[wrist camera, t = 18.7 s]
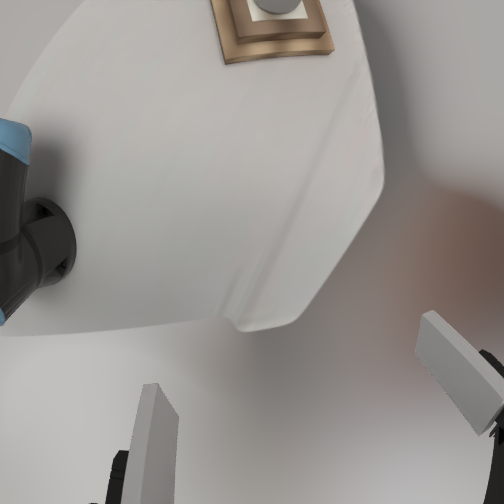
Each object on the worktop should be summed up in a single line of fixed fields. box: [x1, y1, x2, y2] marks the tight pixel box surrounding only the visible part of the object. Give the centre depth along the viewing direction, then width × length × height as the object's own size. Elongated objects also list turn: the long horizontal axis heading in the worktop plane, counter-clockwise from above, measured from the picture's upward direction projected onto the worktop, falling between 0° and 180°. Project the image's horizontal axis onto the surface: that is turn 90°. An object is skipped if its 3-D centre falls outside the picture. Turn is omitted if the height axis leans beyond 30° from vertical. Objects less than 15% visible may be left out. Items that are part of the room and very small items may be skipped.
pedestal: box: [211, 0, 335, 64], centre depth 28 cm, size 16×16×6 cm
